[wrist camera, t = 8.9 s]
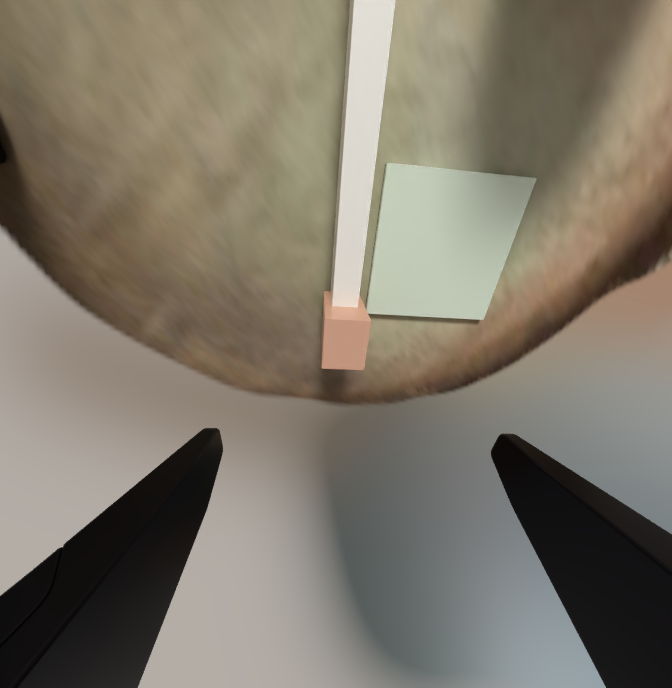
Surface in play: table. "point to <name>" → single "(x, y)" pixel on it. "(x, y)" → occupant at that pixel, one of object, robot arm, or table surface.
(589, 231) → the table surface
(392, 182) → the mat
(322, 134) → the table surface
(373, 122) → the bar
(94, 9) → the table surface
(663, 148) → the table surface
